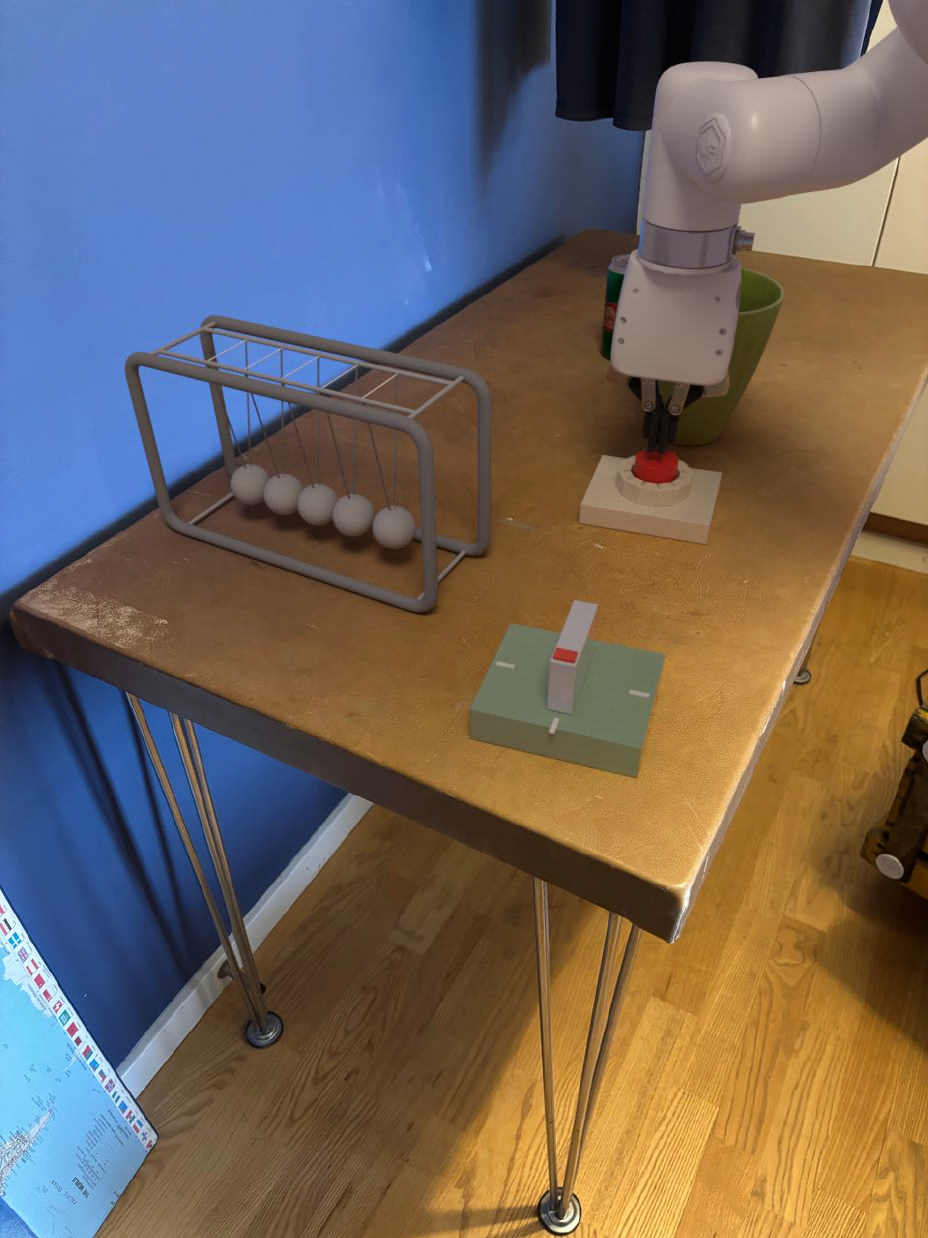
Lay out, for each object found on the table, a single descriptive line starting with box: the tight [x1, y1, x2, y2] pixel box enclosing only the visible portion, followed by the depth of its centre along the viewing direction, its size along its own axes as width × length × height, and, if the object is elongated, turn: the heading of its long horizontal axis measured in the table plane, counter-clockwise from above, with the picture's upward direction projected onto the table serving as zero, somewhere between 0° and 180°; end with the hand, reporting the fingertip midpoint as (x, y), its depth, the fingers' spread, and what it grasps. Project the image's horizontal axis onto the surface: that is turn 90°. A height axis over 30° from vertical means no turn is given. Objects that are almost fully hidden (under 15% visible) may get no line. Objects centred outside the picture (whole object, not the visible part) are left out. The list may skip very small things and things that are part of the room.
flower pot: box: [660, 267, 785, 447], centre depth 96 cm, size 15×15×16 cm
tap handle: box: [547, 599, 599, 714], centre depth 64 cm, size 7×2×5 cm, turn 161°
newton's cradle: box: [124, 314, 493, 614], centre depth 79 cm, size 30×10×18 cm, turn 61°
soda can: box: [600, 254, 631, 360], centre depth 114 cm, size 5×5×12 cm
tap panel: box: [469, 622, 666, 779], centre depth 66 cm, size 12×11×3 cm
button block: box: [578, 454, 723, 545], centre depth 88 cm, size 12×10×4 cm
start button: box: [634, 448, 680, 484], centre depth 86 cm, size 4×4×2 cm
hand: (657, 445), depth 85 cm, fingers closed
